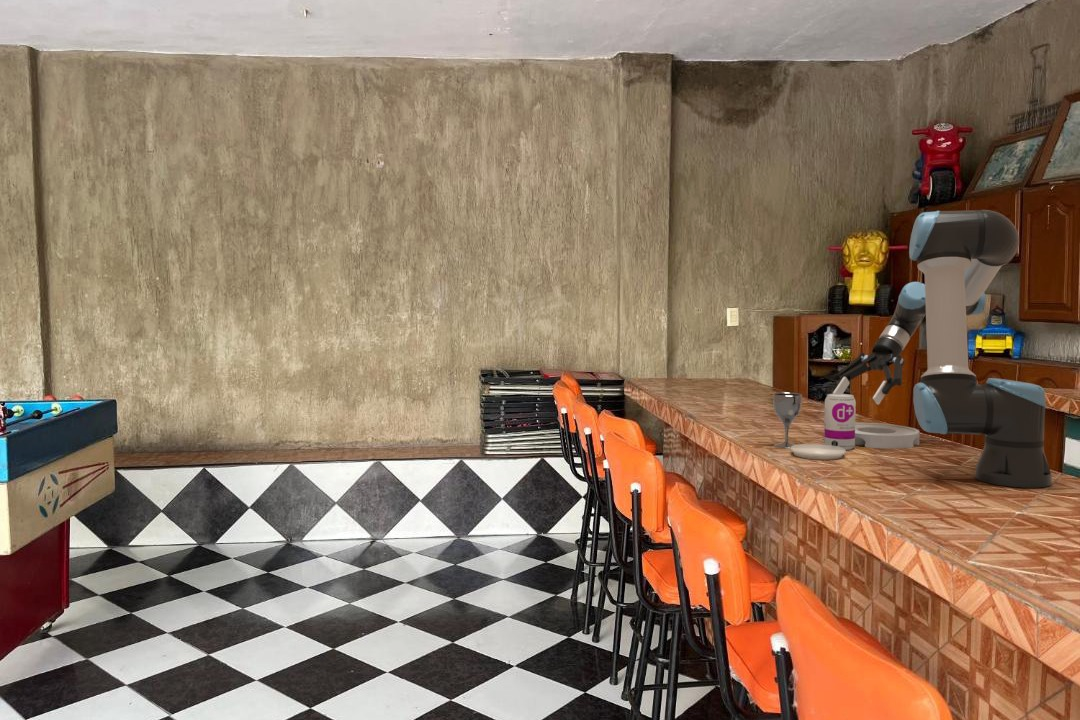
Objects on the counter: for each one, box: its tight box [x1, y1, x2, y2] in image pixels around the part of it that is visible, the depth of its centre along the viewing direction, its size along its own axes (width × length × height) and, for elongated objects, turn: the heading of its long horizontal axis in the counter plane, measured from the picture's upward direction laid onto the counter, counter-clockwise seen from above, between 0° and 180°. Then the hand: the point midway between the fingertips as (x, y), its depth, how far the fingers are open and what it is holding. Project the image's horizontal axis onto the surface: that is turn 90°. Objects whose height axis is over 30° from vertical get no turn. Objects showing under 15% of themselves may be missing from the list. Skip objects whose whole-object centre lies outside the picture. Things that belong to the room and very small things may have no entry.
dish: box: [790, 443, 847, 461], centre depth 214 cm, size 14×14×2 cm
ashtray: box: [855, 422, 921, 450], centre depth 234 cm, size 23×23×4 cm
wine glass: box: [772, 391, 803, 449], centre depth 227 cm, size 8×8×15 cm
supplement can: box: [823, 393, 857, 451], centre depth 224 cm, size 8×8×15 cm
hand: (855, 398), depth 228 cm, fingers open, 13 cm apart
